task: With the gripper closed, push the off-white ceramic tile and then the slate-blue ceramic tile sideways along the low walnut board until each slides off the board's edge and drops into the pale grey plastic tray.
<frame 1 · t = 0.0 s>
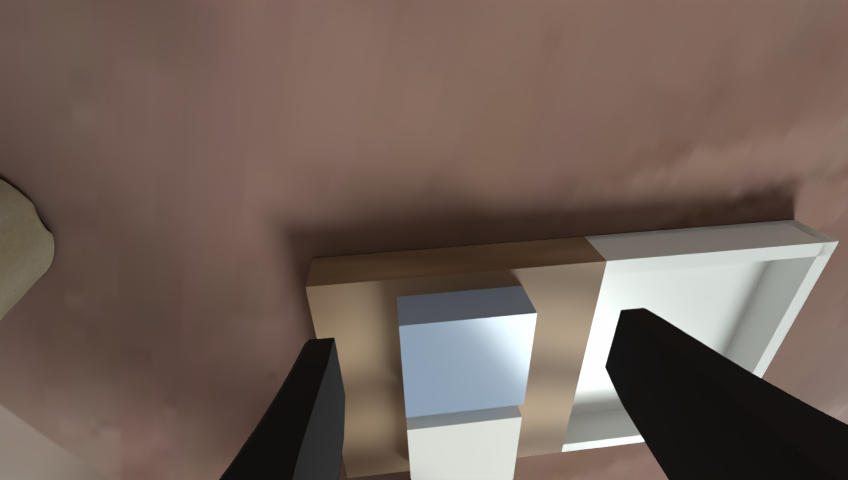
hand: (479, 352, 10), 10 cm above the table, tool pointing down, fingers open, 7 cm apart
tray: (655, 332, 25), on the table
tile white: (457, 425, 24), point 2 cm above the table, touching board
tile blue: (459, 338, 20), point 2 cm above the table, touching board
board: (451, 353, 24), on the table
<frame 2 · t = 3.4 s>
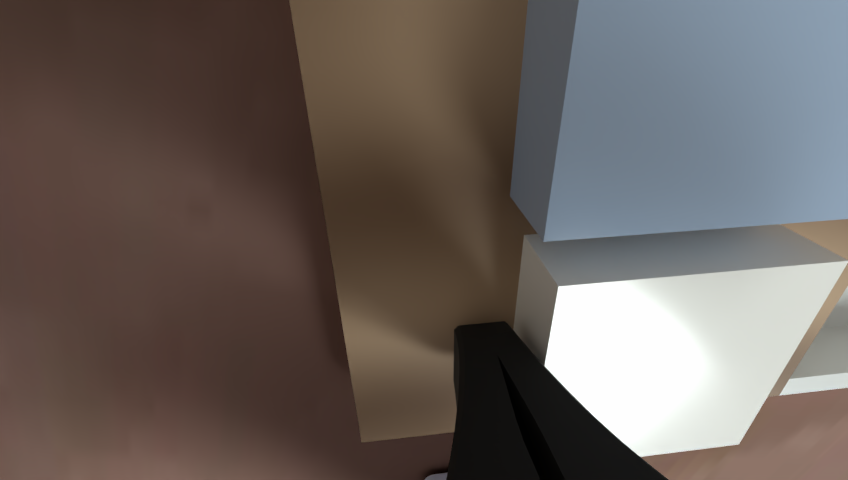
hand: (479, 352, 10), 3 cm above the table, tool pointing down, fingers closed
tile white: (619, 322, 11), point 2 cm above the table, touching board, gripper
tile blue: (681, 37, 7), point 2 cm above the table, touching board
board: (587, 171, 11), on the table
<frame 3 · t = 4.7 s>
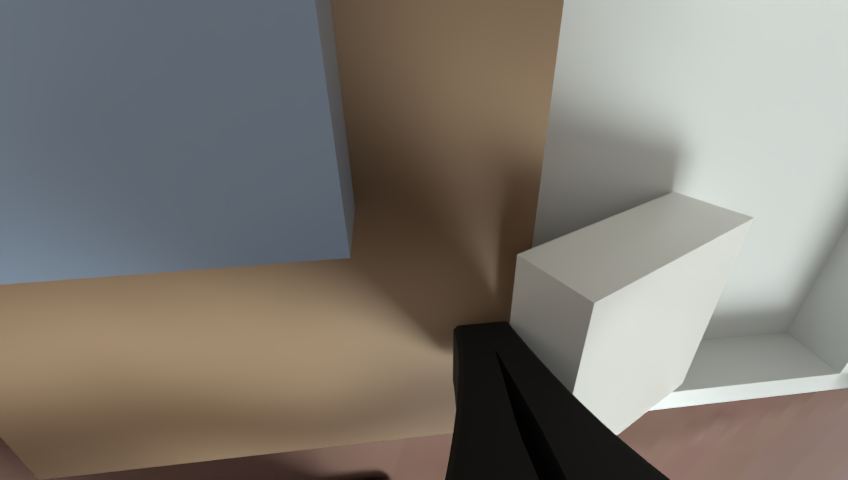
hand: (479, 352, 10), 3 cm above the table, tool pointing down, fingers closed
tray: (708, 165, 12), on the table
tile white: (585, 311, 12), point 2 cm above the table, tilted 26°
tile blue: (155, 57, 7), point 2 cm above the table, touching board
board: (246, 193, 11), on the table
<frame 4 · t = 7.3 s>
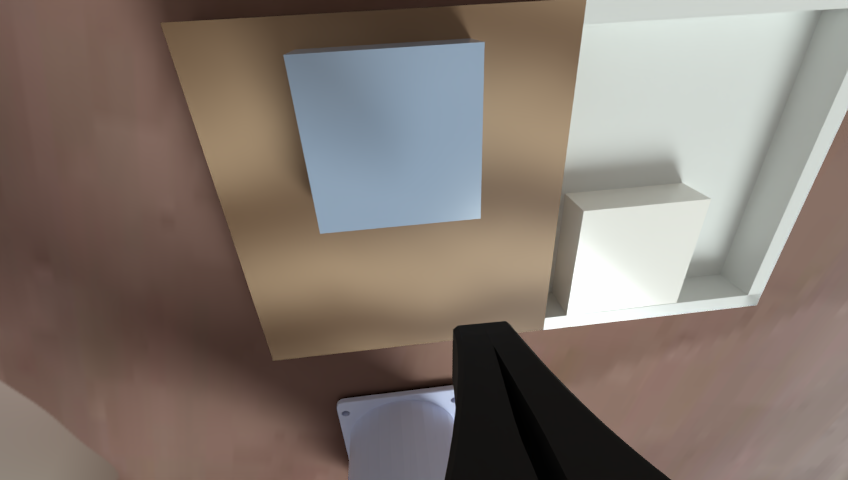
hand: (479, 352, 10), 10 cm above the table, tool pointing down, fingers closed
tray: (658, 169, 20), on the table
tile white: (613, 240, 21), resting on tray
tile blue: (392, 131, 15), point 2 cm above the table, touching board
board: (396, 192, 19), on the table
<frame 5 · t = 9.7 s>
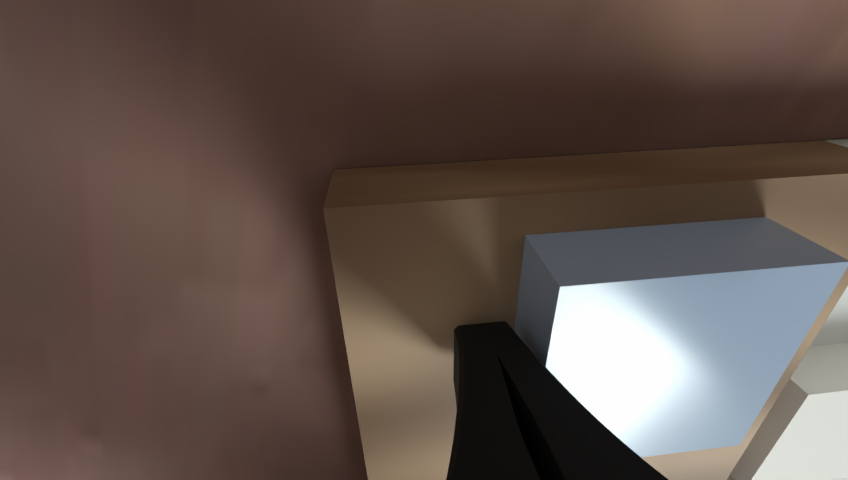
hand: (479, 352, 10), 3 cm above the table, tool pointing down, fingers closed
tile white: (797, 395, 17), resting on tray
tile blue: (620, 322, 11), point 2 cm above the table, touching gripper
board: (553, 352, 15), on the table
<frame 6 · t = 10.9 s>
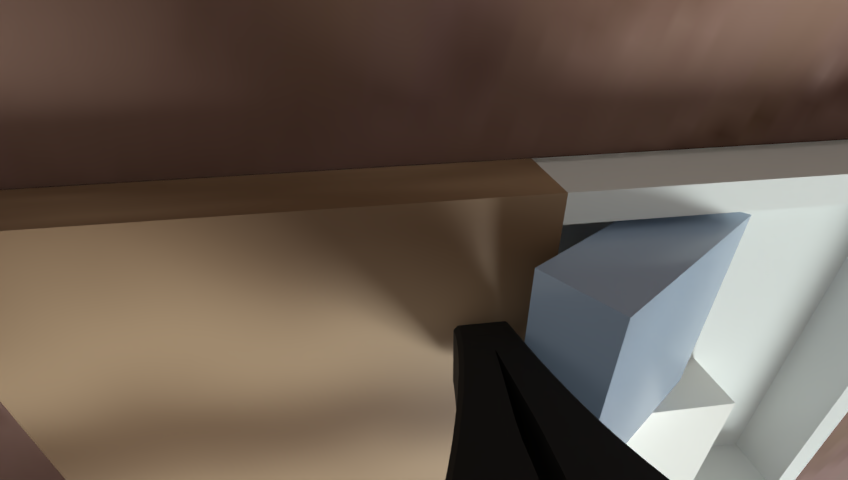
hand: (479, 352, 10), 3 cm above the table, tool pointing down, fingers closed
tray: (663, 341, 15), on the table
tile white: (603, 418, 16), resting on tray
tile blue: (589, 317, 11), point 2 cm above the table, tilted 33°, touching gripper
board: (314, 376, 14), on the table
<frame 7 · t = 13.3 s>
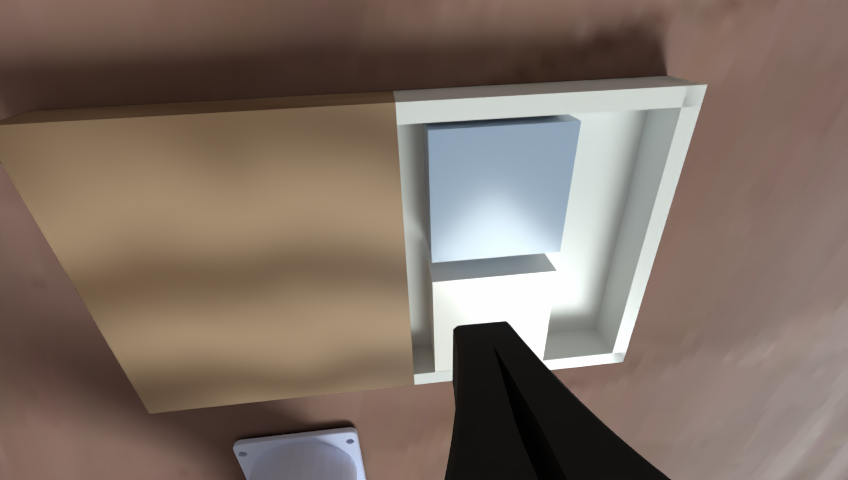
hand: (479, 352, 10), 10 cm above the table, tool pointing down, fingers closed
tray: (518, 236, 21), on the table
tile white: (483, 300, 22), resting on tray
tile blue: (489, 179, 19), resting on tray
board: (262, 257, 20), on the table
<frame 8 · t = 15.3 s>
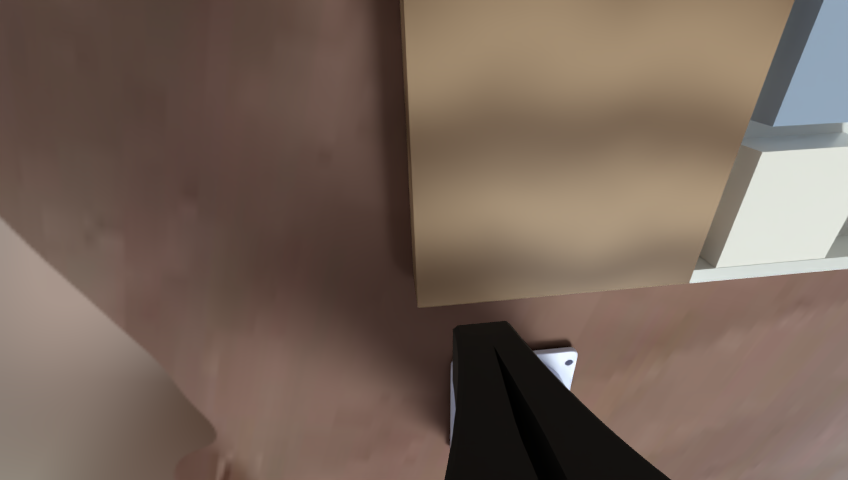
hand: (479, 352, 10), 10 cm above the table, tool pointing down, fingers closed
tray: (819, 117, 19), on the table
tile white: (761, 193, 21), resting on tray
tile blue: (825, 40, 17), resting on tray
board: (559, 132, 18), on the table
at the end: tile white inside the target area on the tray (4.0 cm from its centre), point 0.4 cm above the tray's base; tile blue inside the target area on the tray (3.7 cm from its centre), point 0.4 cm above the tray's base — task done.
